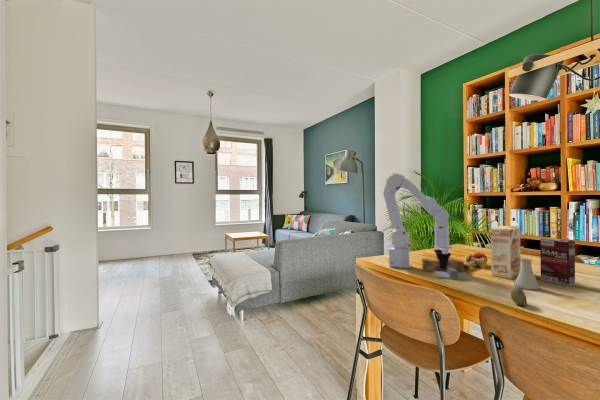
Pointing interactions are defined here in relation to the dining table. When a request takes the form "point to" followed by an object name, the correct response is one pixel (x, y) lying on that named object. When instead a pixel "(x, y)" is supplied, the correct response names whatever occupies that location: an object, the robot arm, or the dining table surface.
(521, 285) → the flask
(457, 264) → the beam
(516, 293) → the lime
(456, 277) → the fulcrum
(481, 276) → the dining table surface
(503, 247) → the coffeecake box
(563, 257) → the supplement box
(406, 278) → the dining table surface
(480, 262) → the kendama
